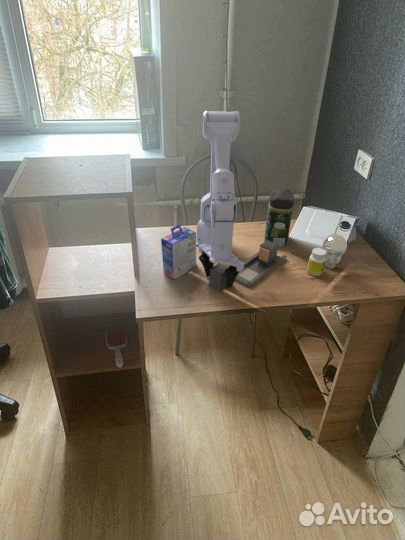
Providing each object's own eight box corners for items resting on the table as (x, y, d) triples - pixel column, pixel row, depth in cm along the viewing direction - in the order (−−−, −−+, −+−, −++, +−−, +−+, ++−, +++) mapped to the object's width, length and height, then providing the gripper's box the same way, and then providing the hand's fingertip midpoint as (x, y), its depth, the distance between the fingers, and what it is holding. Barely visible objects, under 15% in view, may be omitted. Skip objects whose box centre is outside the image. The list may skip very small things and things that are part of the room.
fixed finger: (257, 261, 123) (259, 245, 120) (265, 256, 126) (267, 240, 122) (267, 266, 121) (270, 250, 117) (275, 260, 124) (278, 244, 120)
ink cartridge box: (184, 259, 125) (184, 219, 117) (197, 266, 122) (198, 225, 114) (161, 272, 119) (159, 231, 111) (174, 280, 116) (173, 238, 108)
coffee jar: (264, 234, 139) (270, 185, 129) (286, 236, 138) (295, 187, 128) (263, 248, 131) (270, 197, 121) (287, 251, 131) (296, 199, 120)
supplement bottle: (322, 280, 118) (328, 256, 113) (306, 277, 118) (311, 254, 114) (321, 271, 122) (327, 248, 117) (306, 269, 122) (310, 246, 117)
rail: (227, 279, 117) (228, 273, 116) (264, 252, 129) (265, 246, 128) (249, 290, 113) (250, 284, 111) (285, 261, 125) (286, 256, 124)
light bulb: (313, 268, 122) (320, 235, 115) (324, 259, 127) (332, 227, 120) (333, 278, 119) (342, 244, 112) (344, 268, 123) (353, 235, 116)
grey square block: (209, 285, 114) (210, 269, 111) (219, 278, 117) (220, 262, 114) (220, 291, 112) (221, 274, 109) (229, 284, 115) (231, 267, 112)
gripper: (191, 236, 107) (191, 276, 115) (234, 256, 99) (230, 298, 107) (208, 227, 111) (207, 266, 119) (250, 246, 104) (245, 286, 112)
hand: (219, 280), depth 114 cm, fingers open, 7 cm apart
